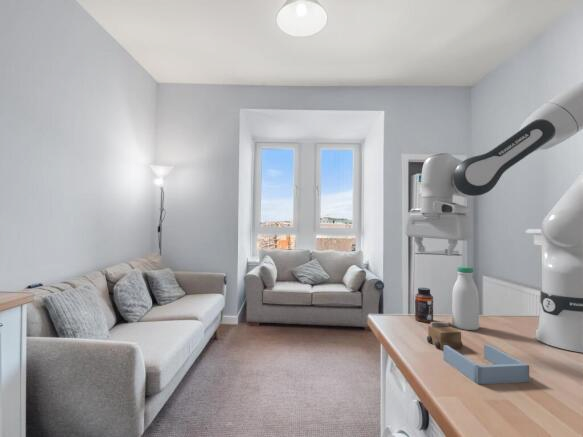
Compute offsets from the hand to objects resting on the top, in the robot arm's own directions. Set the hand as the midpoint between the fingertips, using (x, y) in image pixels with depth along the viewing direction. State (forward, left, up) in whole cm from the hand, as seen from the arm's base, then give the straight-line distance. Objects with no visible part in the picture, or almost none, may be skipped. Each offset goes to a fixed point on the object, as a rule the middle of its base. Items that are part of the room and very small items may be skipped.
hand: (434, 253), depth 92 cm
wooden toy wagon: (+1, +6, -25) cm, 26 cm away
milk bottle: (-16, -8, -25) cm, 31 cm away
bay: (+1, +21, -25) cm, 33 cm away
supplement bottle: (-6, -16, -25) cm, 31 cm away
